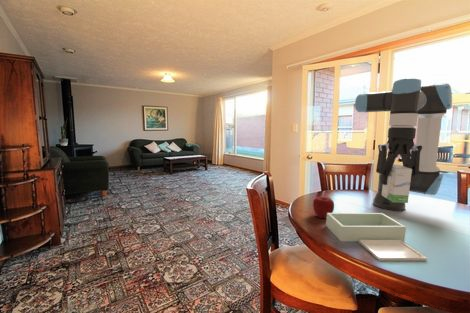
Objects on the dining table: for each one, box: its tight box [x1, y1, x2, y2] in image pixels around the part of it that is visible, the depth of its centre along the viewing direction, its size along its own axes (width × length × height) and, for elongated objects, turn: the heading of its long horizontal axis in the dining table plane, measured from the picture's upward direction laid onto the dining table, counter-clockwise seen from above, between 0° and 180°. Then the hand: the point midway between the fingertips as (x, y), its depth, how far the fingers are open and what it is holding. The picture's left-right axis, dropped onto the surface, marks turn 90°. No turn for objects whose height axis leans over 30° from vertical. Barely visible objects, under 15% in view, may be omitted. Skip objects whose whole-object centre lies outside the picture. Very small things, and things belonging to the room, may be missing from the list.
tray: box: [358, 240, 428, 262], centre depth 82 cm, size 16×12×1 cm
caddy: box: [325, 212, 407, 242], centre depth 95 cm, size 25×14×6 cm, turn 91°
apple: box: [312, 196, 335, 219], centre depth 112 cm, size 10×10×10 cm
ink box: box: [382, 164, 412, 204], centre depth 79 cm, size 9×5×12 cm, turn 169°
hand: (394, 193), depth 79 cm, fingers closed on ink box, 6 cm apart
